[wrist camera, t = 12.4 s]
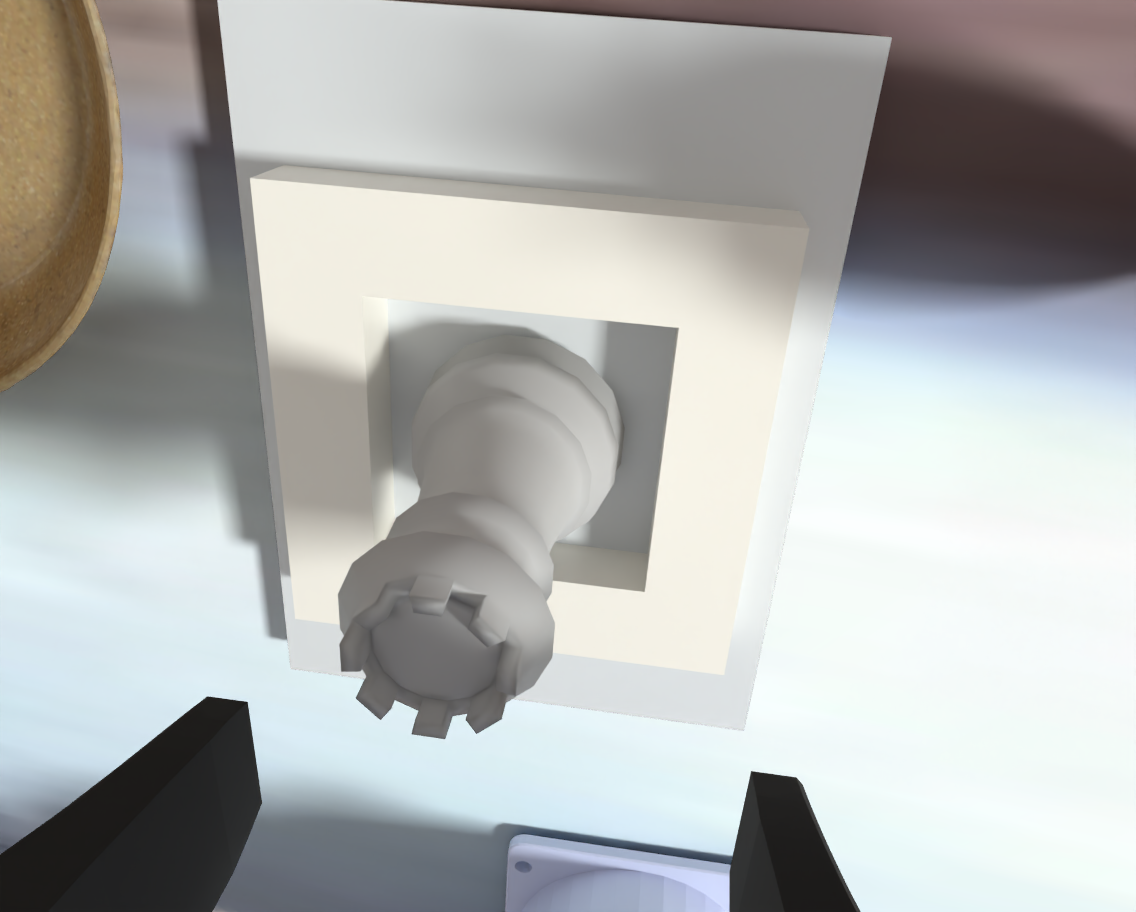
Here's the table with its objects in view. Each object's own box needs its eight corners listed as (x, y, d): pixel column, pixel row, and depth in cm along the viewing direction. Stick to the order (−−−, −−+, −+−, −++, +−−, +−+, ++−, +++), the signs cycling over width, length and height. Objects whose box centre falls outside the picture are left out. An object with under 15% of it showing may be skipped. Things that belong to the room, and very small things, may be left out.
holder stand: (741, 703, 23) (747, 776, 21) (305, 644, 24) (266, 709, 22) (880, 35, 16) (912, 39, 13) (241, -11, 17) (172, -15, 14)
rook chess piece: (492, 539, 20) (389, 819, 13) (385, 382, 19) (205, 604, 12) (662, 466, 19) (648, 735, 12) (562, 289, 17) (477, 478, 10)
